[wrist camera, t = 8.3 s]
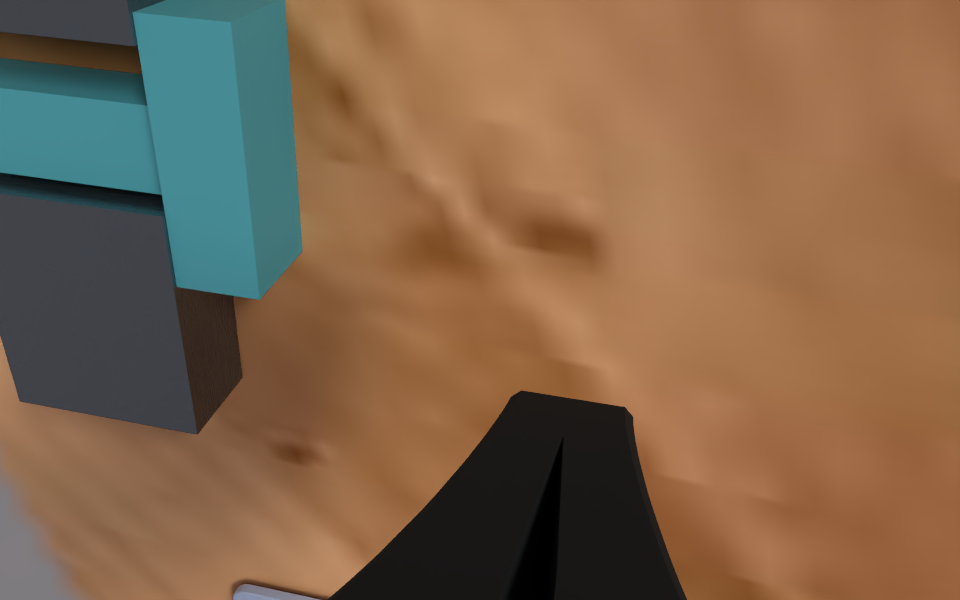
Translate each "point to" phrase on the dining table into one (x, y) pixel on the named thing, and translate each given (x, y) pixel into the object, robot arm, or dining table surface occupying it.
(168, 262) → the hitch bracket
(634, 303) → the dining table surface
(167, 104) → the teal t-shaped bar
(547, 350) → the dining table surface
